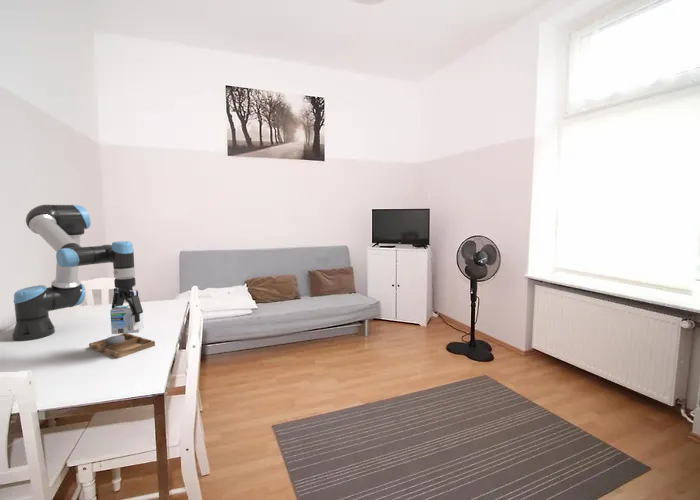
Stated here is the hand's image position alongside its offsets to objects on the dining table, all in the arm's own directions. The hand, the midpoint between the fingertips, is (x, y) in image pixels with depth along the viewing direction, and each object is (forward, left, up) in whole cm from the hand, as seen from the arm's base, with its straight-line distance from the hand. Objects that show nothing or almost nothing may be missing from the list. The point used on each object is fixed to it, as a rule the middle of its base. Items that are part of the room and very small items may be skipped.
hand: (128, 327), depth 150 cm
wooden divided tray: (-6, 0, -10) cm, 12 cm away
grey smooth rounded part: (-11, 0, -10) cm, 15 cm away
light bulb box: (0, 0, -2) cm, 2 cm away
